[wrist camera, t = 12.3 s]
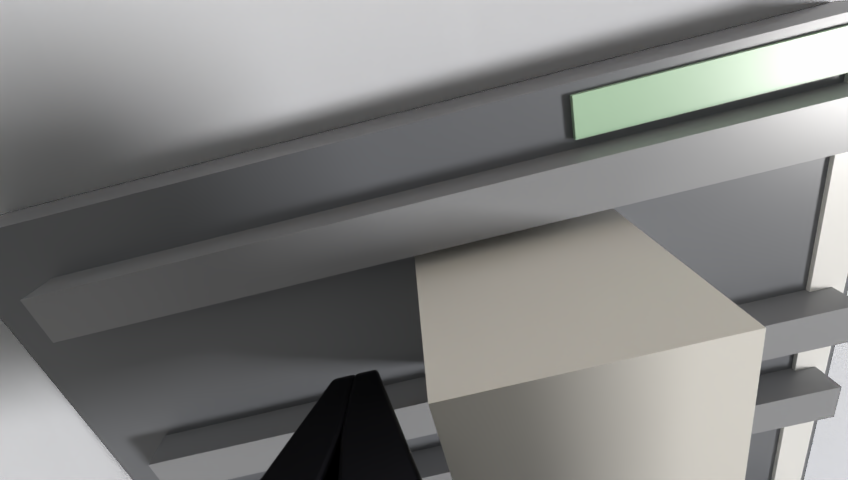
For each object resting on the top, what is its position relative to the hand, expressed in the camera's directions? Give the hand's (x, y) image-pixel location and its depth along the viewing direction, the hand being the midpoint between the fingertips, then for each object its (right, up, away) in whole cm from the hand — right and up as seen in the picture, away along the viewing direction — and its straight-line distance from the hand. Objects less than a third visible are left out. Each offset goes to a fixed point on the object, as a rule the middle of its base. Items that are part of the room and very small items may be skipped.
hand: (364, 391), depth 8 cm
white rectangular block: (+3, +2, +2) cm, 4 cm away
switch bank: (+2, -1, +5) cm, 5 cm away
